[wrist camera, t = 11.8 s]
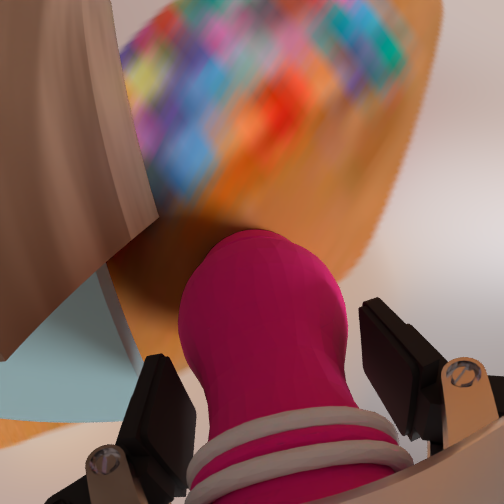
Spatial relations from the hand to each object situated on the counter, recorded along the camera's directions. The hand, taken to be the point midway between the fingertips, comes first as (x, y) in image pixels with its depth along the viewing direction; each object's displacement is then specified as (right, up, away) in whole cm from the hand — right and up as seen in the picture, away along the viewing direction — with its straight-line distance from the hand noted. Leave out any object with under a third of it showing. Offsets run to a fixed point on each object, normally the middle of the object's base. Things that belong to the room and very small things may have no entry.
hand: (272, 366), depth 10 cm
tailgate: (-16, +1, +1) cm, 16 cm away
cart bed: (-18, +9, +4) cm, 21 cm away
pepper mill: (-1, +2, +8) cm, 8 cm away
